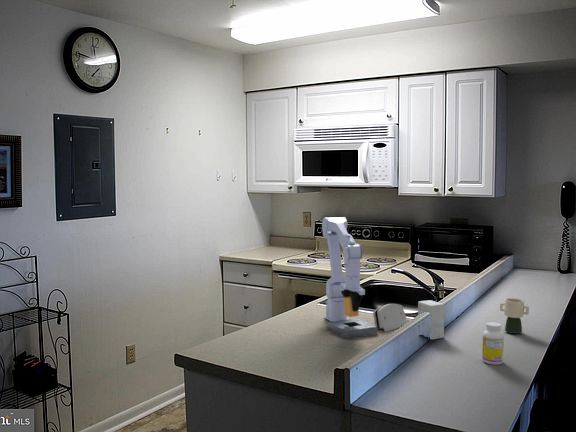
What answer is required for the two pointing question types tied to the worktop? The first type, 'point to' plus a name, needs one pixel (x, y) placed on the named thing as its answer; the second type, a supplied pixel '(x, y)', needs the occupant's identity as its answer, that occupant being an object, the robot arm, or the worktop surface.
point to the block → (349, 308)
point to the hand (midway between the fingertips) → (352, 309)
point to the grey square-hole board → (352, 328)
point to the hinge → (390, 317)
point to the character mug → (514, 314)
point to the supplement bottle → (493, 344)
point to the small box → (434, 317)
